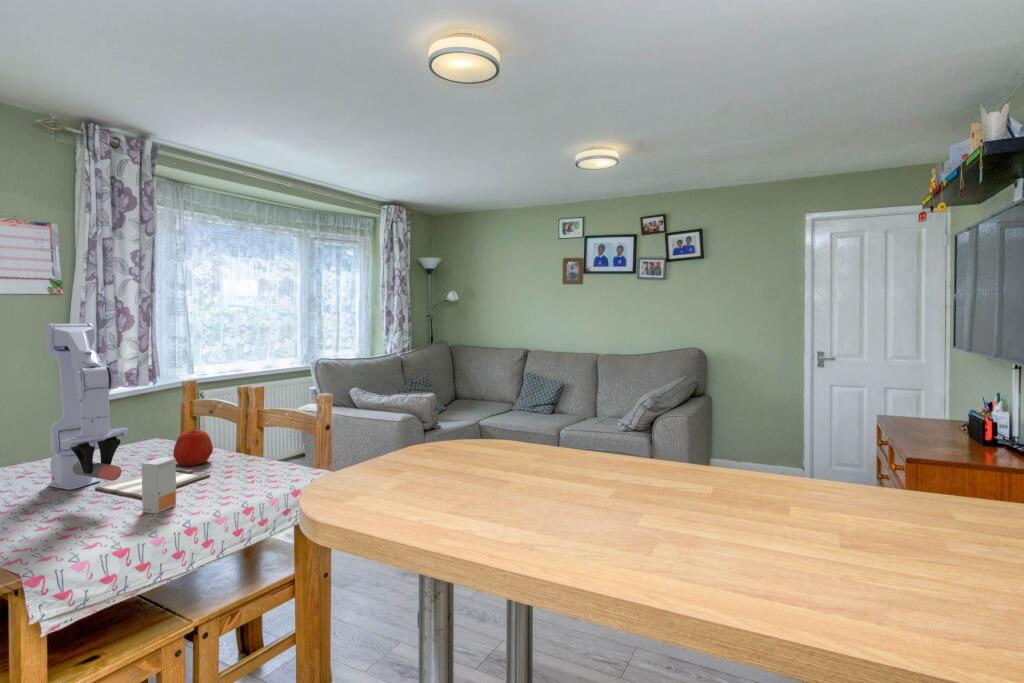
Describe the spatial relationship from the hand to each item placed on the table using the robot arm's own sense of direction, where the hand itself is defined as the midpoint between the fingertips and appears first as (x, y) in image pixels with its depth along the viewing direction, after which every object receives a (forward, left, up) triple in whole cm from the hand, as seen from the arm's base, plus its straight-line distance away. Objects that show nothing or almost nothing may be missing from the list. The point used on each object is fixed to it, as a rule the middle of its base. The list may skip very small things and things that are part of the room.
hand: (97, 470), depth 135 cm
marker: (0, +1, -2) cm, 2 cm away
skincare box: (+16, +4, -9) cm, 19 cm away
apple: (-10, +35, -9) cm, 37 cm away
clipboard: (-3, +17, -9) cm, 19 cm away
